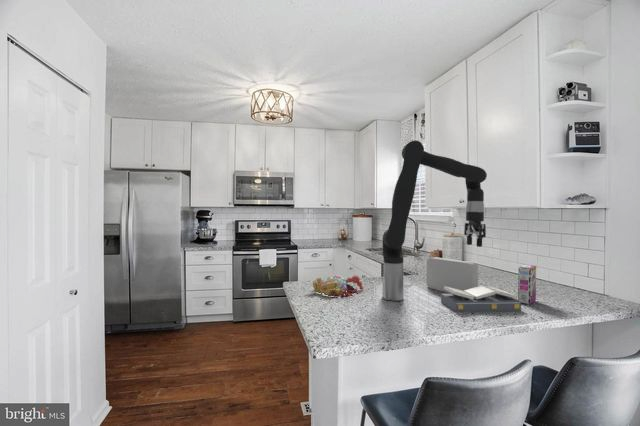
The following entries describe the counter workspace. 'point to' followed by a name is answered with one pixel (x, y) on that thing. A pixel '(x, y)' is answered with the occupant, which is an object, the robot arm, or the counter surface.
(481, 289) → the rocker
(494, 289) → the rocker
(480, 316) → the counter surface
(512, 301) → the tray
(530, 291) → the candy bar box
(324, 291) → the colourful mixed pile
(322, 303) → the counter surface
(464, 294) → the rocker
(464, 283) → the upright grey rectangular panel
